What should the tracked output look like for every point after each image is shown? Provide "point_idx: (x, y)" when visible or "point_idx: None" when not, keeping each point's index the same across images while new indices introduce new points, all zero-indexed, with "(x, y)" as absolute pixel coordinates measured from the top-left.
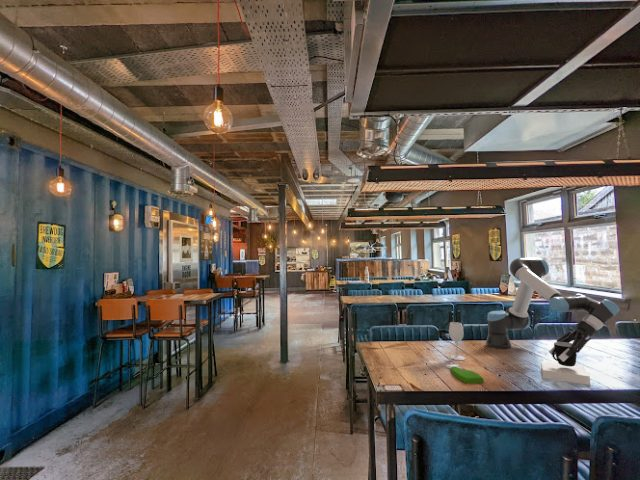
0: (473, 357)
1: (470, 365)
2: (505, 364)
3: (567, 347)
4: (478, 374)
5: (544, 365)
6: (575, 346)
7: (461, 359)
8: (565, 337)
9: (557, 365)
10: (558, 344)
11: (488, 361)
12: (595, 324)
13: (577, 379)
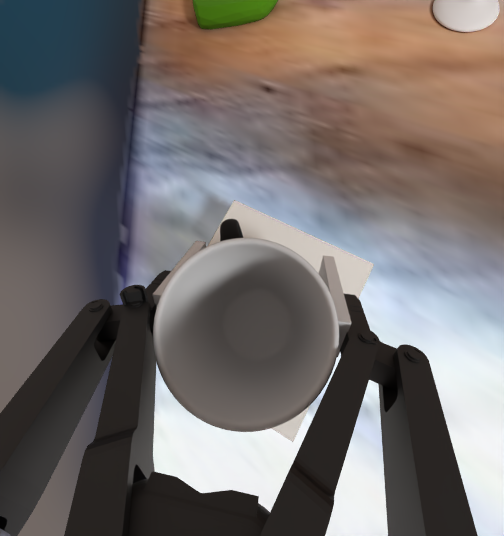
0: (493, 66)
1: (370, 33)
2: (403, 152)
3: (166, 294)
4: (224, 4)
5: (298, 241)
6: (81, 324)
7: (439, 14)
8: (351, 427)
9: None
10: (323, 314)
11: (438, 104)
12: None
13: None
